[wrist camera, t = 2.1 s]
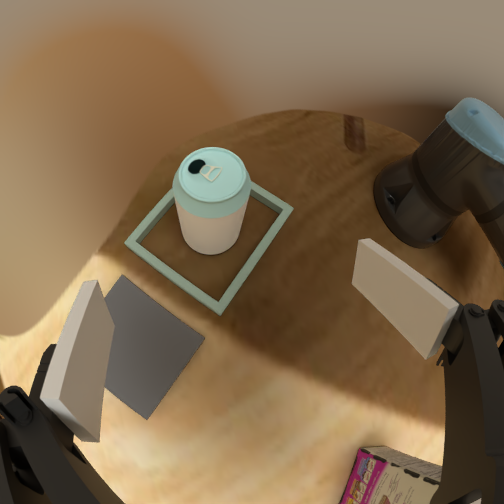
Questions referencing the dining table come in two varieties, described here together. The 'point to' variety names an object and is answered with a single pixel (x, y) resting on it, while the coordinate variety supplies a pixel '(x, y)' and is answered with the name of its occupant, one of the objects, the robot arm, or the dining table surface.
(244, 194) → the can
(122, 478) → the dining table surface
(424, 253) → the dining table surface
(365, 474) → the candy bar box
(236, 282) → the corral
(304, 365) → the dining table surface
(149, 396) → the coaster
